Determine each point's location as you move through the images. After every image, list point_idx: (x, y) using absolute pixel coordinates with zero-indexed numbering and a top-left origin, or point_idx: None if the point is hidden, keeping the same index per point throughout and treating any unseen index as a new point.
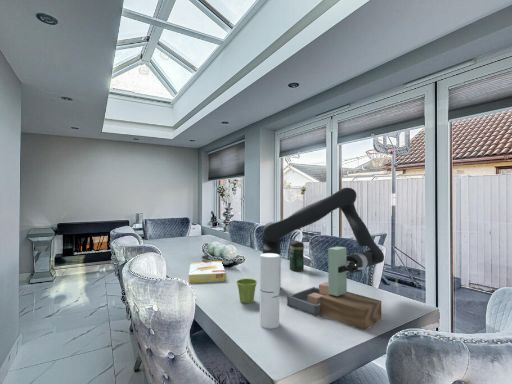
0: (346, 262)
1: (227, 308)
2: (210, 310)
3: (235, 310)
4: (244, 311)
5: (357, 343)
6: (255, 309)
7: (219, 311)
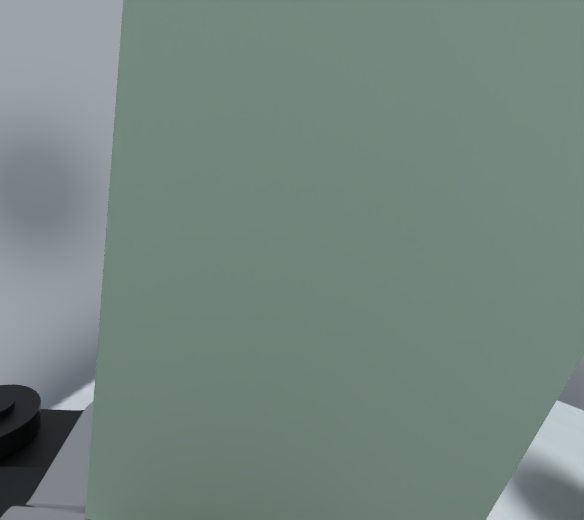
0: (87, 494)
1: (578, 446)
2: (571, 413)
3: (549, 443)
4: (528, 449)
5: (78, 393)
6: (536, 485)
7: (554, 418)
